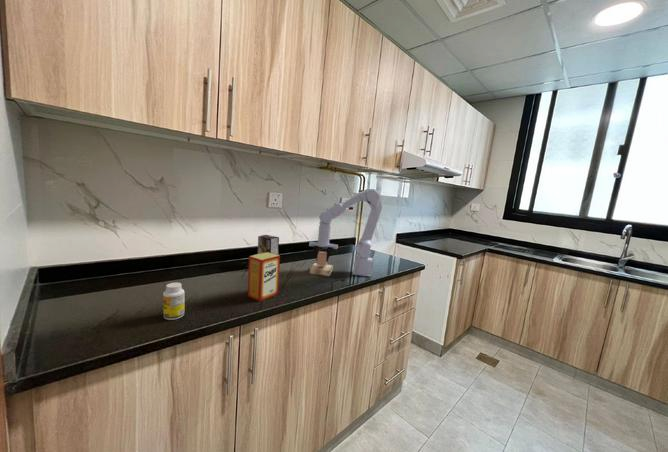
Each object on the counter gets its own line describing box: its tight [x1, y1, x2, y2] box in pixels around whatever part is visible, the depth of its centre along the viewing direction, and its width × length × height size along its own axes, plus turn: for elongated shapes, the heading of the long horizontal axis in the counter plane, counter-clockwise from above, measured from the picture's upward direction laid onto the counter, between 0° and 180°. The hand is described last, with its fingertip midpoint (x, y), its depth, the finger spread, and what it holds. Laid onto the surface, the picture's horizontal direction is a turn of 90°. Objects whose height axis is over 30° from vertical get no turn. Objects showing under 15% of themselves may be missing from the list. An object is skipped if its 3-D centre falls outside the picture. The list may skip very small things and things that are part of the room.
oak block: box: [309, 262, 334, 277], centre depth 133 cm, size 10×10×3 cm
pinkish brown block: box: [316, 250, 328, 266], centre depth 132 cm, size 4×4×6 cm
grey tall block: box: [257, 234, 280, 255], centre depth 132 cm, size 9×6×16 cm
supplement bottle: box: [162, 282, 186, 321], centre depth 79 cm, size 6×6×10 cm
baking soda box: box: [247, 252, 281, 302], centre depth 98 cm, size 10×6×16 cm
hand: (322, 261), depth 132 cm, fingers closed on pinkish brown block, 4 cm apart
